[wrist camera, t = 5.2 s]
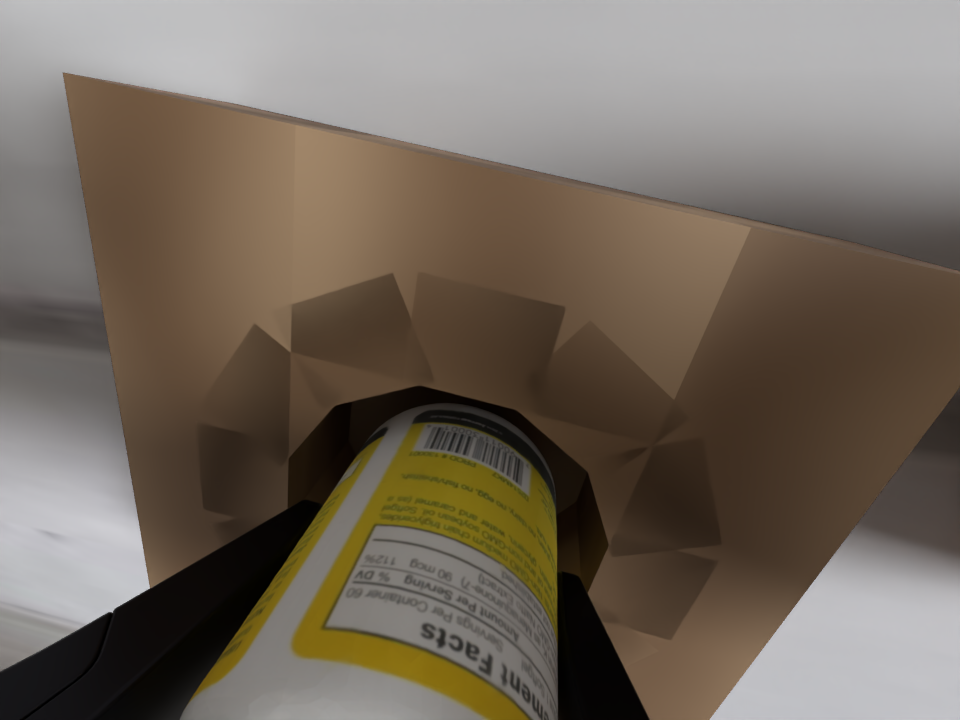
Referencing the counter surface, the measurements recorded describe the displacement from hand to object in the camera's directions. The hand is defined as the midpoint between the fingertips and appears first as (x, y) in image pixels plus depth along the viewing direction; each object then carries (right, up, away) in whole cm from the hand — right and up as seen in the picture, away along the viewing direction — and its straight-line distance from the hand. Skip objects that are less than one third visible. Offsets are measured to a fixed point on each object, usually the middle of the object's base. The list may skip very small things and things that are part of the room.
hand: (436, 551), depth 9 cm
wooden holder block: (+1, +2, +4) cm, 4 cm away
